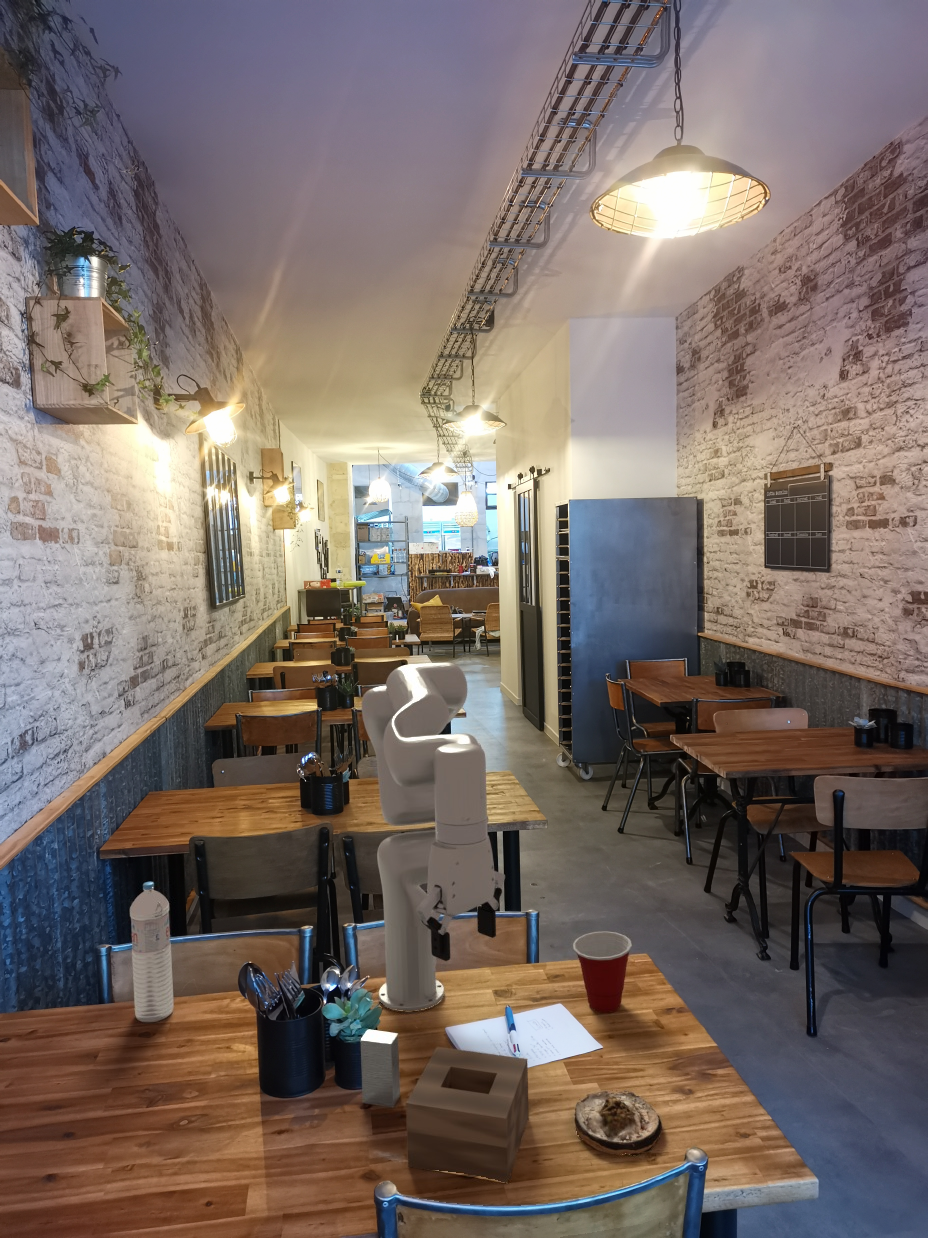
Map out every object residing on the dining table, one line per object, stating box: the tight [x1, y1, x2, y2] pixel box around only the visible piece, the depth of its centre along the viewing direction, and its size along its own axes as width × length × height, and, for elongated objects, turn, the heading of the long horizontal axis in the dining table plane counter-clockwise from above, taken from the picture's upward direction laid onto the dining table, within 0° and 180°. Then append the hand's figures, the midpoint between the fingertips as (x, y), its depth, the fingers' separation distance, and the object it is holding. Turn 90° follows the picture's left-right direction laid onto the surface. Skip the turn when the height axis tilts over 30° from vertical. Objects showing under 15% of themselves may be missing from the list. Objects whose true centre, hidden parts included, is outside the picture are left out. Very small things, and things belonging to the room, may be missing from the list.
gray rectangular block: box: [360, 1029, 401, 1109], centre depth 130 cm, size 3×5×10 cm, turn 74°
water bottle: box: [129, 881, 174, 1023], centre depth 157 cm, size 7×7×25 cm
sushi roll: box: [573, 1089, 663, 1157], centre depth 122 cm, size 15×15×4 cm
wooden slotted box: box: [405, 1046, 530, 1183], centre depth 120 cm, size 14×14×9 cm
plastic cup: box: [572, 931, 632, 1014], centre depth 156 cm, size 11×11×12 cm
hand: (464, 946), depth 122 cm, fingers open, 9 cm apart
